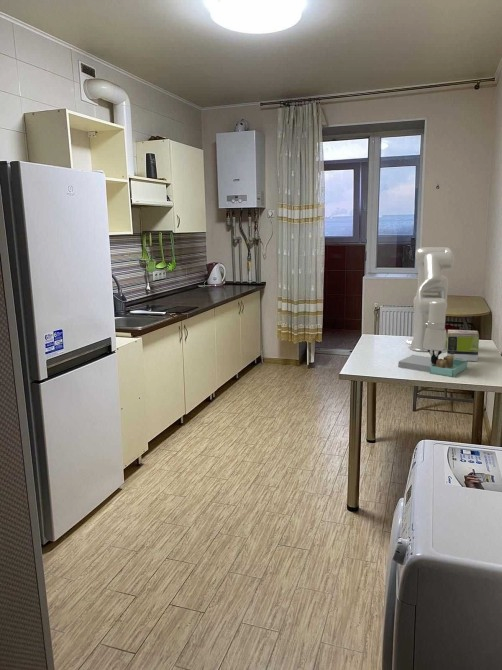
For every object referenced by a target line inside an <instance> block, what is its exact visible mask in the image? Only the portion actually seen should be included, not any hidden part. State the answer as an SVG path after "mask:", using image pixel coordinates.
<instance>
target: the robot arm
mask: <svg viewBox="0 0 502 670" xmlns="http://www.w3.org/2000/svg"><path fill="white" fill-rule="evenodd" d="M415 260H416V261H415V262H416V263H417V267H418V273H417V290H416V292H415V293H416V294H415V296H414V297H413V302H412V303H413V315H414V316H413V337H412V340H408V339H407V340H406V345H410V346H409V349H410V350H411V351H414V352H423V353H424V352H428V354H429V355H430V357H431V362H432V364H436V361H437V360H438V359H439V356H440V355H441V354H447V335H448V332H447V330H446V314H447V313H446V312H447V309H448V291H449V280H448V277H447V276H445V275H443V270H450V269H451V270H452V269H453V267H454V266H455V255H454V253H453V251H452V250H451V248H450V247H448V246H447V247H445V246H444V247H443V246H441V247H439V246H432V247H430V246H429V247H428V246H427V247H425V246H424V247H418V248H417V249H416V250H415ZM433 293H434V294H433Z"/></svg>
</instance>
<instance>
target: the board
mask: <svg viewBox="0 0 502 670" xmlns="http://www.w3.org/2000/svg"><path fill="white" fill-rule="evenodd" d="M439 359H440V358H438V360H439ZM435 365H436V364H432V362H431V356H430V357H429V356H422V355H416V354H411V355H408V356H407V357H405V358H403V359H400V360H398V368H401V369H407V370H412V371H419V372H426V373H430V366H435Z"/></svg>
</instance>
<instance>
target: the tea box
mask: <svg viewBox="0 0 502 670" xmlns="http://www.w3.org/2000/svg"><path fill="white" fill-rule="evenodd" d="M479 344H480V334H479V331H478V330H467V329H466V330H465V329H464V330H463V329H447V348H446V351H447V352H446V356H453V359H456V360H463V361H469V362H478V361H479V360H478V359H479V346H480V345H479Z"/></svg>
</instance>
